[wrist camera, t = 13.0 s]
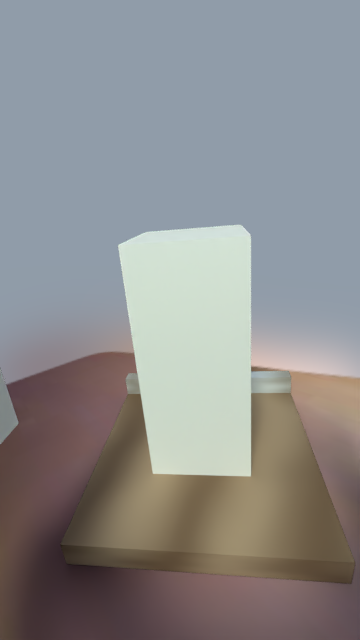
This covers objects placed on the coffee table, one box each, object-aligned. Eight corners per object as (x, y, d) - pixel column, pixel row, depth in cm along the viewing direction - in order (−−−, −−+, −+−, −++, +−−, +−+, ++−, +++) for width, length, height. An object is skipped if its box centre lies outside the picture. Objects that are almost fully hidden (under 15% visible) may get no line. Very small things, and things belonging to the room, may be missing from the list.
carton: (251, 476, 18) (250, 235, 13) (152, 473, 19) (118, 245, 14) (242, 411, 24) (240, 224, 19) (167, 410, 25) (146, 231, 20)
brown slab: (66, 563, 16) (53, 524, 15) (133, 399, 29) (129, 372, 28) (351, 583, 14) (359, 539, 13) (286, 399, 27) (288, 369, 26)
